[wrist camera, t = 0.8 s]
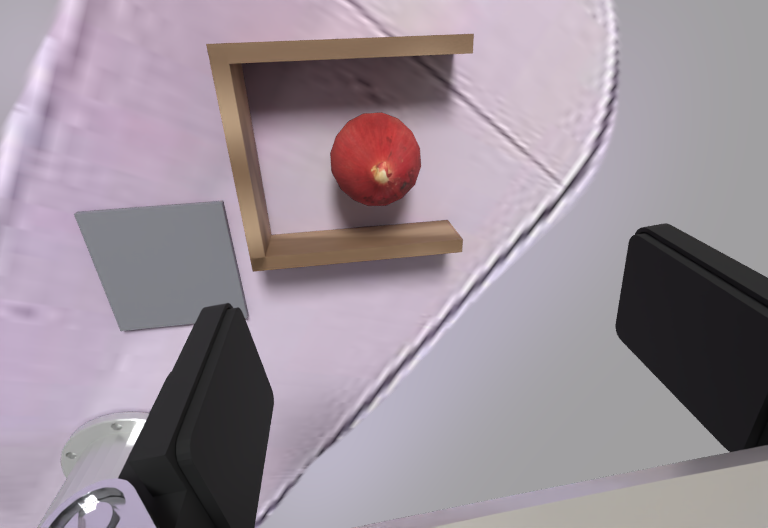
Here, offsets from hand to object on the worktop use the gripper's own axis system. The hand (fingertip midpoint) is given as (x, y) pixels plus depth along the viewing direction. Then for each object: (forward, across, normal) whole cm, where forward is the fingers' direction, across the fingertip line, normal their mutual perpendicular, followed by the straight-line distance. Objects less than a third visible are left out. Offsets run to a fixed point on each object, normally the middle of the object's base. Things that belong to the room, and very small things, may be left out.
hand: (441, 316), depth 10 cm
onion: (+23, 0, +1) cm, 23 cm away
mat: (+22, +17, +7) cm, 28 cm away
